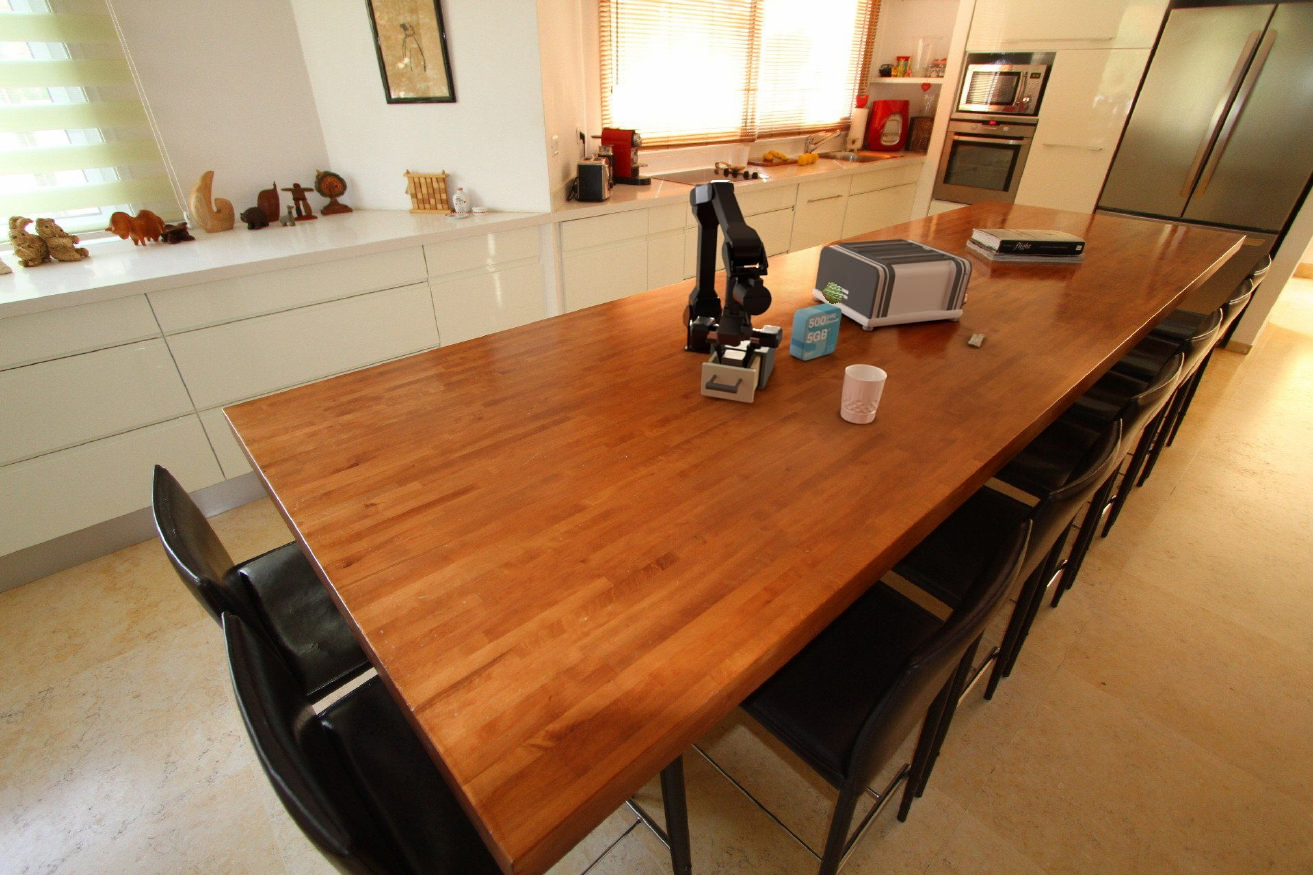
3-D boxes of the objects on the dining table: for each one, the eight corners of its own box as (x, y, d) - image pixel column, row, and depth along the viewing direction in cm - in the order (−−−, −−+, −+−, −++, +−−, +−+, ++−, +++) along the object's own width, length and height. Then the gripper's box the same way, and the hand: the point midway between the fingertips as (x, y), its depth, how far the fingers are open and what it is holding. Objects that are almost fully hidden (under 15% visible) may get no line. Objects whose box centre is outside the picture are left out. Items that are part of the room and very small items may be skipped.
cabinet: (762, 390, 132) (766, 352, 128) (708, 381, 136) (711, 345, 131) (773, 366, 143) (777, 331, 139) (723, 359, 147) (726, 325, 142)
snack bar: (980, 346, 153) (969, 340, 154) (976, 351, 154) (965, 345, 155) (986, 334, 160) (976, 329, 161) (982, 339, 161) (972, 333, 162)
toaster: (971, 320, 172) (990, 258, 163) (865, 332, 164) (878, 267, 154) (905, 290, 198) (917, 234, 188) (810, 298, 189) (818, 241, 180)
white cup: (856, 429, 118) (865, 383, 112) (829, 412, 124) (836, 368, 118) (885, 420, 121) (895, 376, 116) (857, 404, 127) (866, 361, 122)
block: (725, 368, 131) (726, 349, 129) (745, 371, 130) (747, 352, 128) (720, 376, 128) (721, 357, 125) (740, 379, 126) (742, 360, 124)
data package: (801, 362, 146) (807, 315, 140) (788, 356, 149) (794, 310, 143) (835, 352, 151) (843, 307, 145) (822, 346, 155) (829, 302, 148)
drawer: (745, 415, 120) (748, 383, 117) (693, 406, 124) (694, 374, 120) (763, 379, 135) (766, 350, 131) (715, 372, 138) (717, 343, 135)
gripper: (683, 306, 117) (681, 377, 125) (777, 317, 111) (768, 391, 119) (699, 290, 126) (696, 357, 134) (787, 300, 120) (778, 370, 128)
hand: (733, 369), depth 128 cm, fingers closed on block, 4 cm apart
